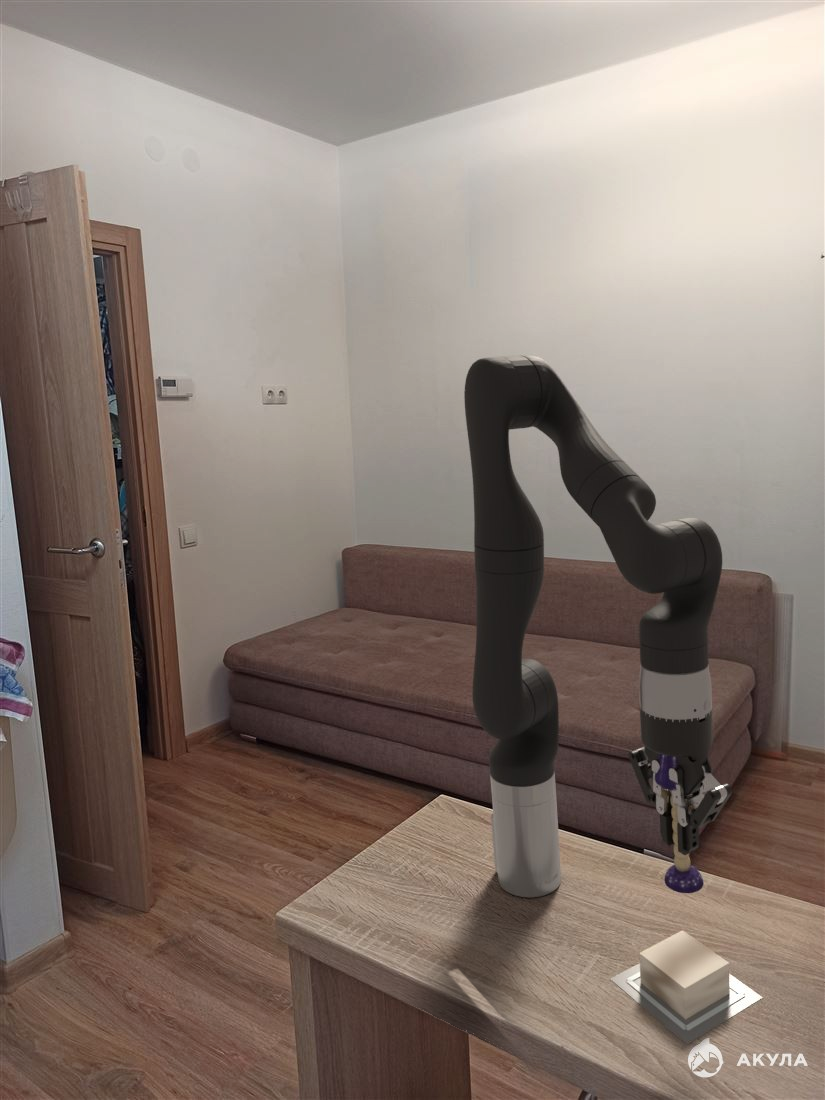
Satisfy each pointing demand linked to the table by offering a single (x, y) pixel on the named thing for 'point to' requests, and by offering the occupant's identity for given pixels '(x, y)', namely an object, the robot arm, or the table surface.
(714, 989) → the cream block
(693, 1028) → the slate board
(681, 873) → the toy lamp
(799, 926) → the table surface
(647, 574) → the robot arm
